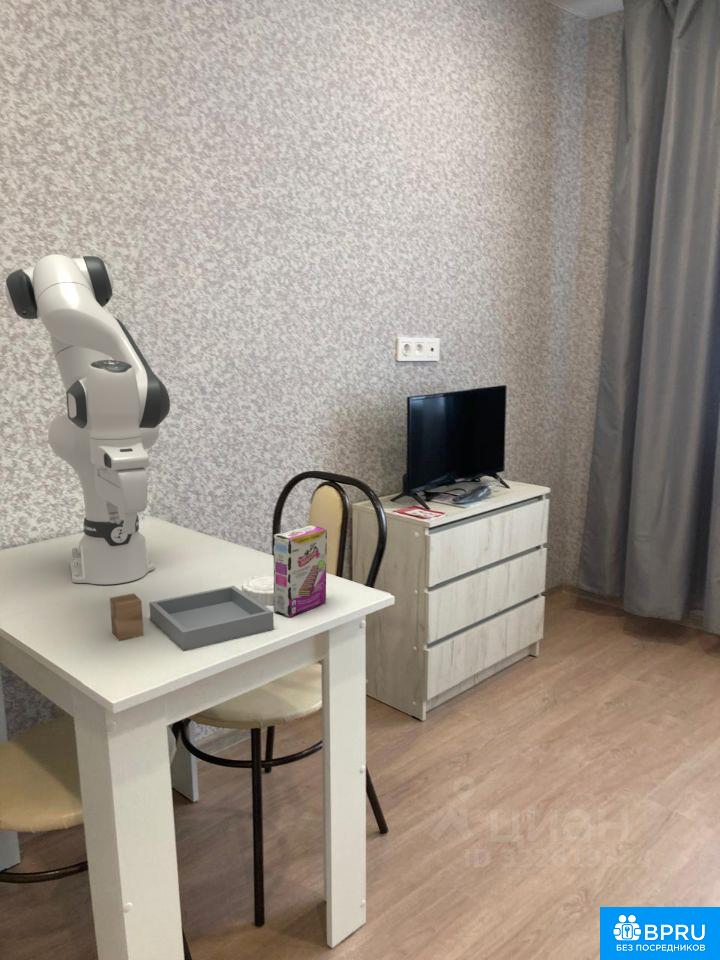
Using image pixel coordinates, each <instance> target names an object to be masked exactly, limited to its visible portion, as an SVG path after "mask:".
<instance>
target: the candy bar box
mask: <svg viewBox="0 0 720 960" xmlns="http://www.w3.org/2000/svg"><path fill="white" fill-rule="evenodd" d="M327 530H328V529H327V528H325V527H320V526H315V525H306V526H303V527H300V528H295V529H292V530H288V531H284V532H281V533H276V534H273V574H274V605H273V613H276V614H279V615H281V616H285V617H288V618H291V617H293V616H296V615H299V614H302V613H304V612H306V611H309V610H311V609H314V608H316V607H319V606H321V605H324V604H326V602H327V601H326V600H327V597H326V596H327V555H328V554H327V545H328V543H327V542H328V540H327V539H328V538H327V537H328V532H327Z"/></svg>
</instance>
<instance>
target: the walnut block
mask: <svg viewBox="0 0 720 960" xmlns="http://www.w3.org/2000/svg"><path fill="white" fill-rule="evenodd" d="M109 606H110V608H109V609H110V619H111V620H110V621H111V633H112V634H113V636H114V637H115V638H116V639H117V640H118V642H121V641H126V640H131V639H135V638H140V637H143V636H144V627H143V625H144V624H143V623H144V622H143V621H144V620H143V605H142V599H141V598H140V597H139V596H138V595H136V594H135V593H129V594H123V595H118V596H112V597H109Z"/></svg>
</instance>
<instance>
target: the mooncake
mask: <svg viewBox="0 0 720 960" xmlns="http://www.w3.org/2000/svg"><path fill="white" fill-rule="evenodd" d="M241 591H242V592H244V593H245V594H247V595H248V596H250V597H251V598H253V599H254V600H256V601H257V602H259V603H261V604H262V605H264V606H265V607H267V606H269V607H270V606H271V607H272V606H273V607H274V573H272V574H258V575H256V576H252V577H250V578H247V579H246V580H244V581H243V582H242V584H241Z"/></svg>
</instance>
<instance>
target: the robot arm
mask: <svg viewBox="0 0 720 960" xmlns="http://www.w3.org/2000/svg"><path fill="white" fill-rule="evenodd" d="M4 290H5V291H4V293H5V297H6V300H7V302H8V305H9V306H10V309H12V310H13V311H14V312H15V314H16V315H17V316H18V317H20V318H22V319H24V320H38V319H39V318H40V319H41V322H42V323H43V326H44V328H45V329H46V331H47V332H48V333H49V334H50V335H49V336H50V342H51V347H52V350H53V355H54V357H55V361H56V364H57V365H56V366H57V367H58V370H59V374H60V377H61V380H62V383H63V386H64V388H65V390H66V393H65V394H66V409H67V413H64V414H61V415H59V416H56V417H55V418H54V419H53V420H52V421H51V423H50V426H49V429H48V432H47V433H48V434H47V436H48V443H49V446H50V449H52V451H53V453H54V454H55V455H56V456H57V457H58V458H59V459H61V460H62V461H64V462H66V463H67V464H68V465H69V466H70V467H71V468H72V469H73V471H74V472H75V473H76V475H77V478H78V480H79V481H80V484H81V487H82V488H81V489H82V492H83V493H82V495H83V500H84V501H83V503H84V511H85V516H84V518H83V524H82V525H83V526H82V527H83V536H82V538H81V539H80V541H79V542H78V547H73V548H72V549H71V551H72V558H73V560H71V561H70V565H69V566H70V567H69V568H70V574H71V582H72V583H75V584H76V583H77V584H91V585H92V584H93V585H117V584H124V583H129V582H133V581H136V580H138V579H141V578H143V577H145V576H146V575H147V574H148V573H149V572H151V571H154V570H155V563H152V562H150V561H149V556H148V548H147V540H146V537H145V535H143V534H142V533H140V531H139V529H140V526H139V525H140V519H139V515H138V513H141V512H145V511H146V508H147V506H148V496H149V495H148V492H149V491H148V490H149V489H148V487H149V486H148V484H149V482H148V472H147V470H146V468H149V467H150V457H149V455H148V453H147V452H146V450H148V449H149V448H152V447H153V446H154V445H155V444H156V442H157V440H158V438H159V434H160V426H159V425H160V424H162V422H164V420H165V419H166V418H167V416H168V415H169V412H170V408H171V402H170V396H169V392H168V389H167V388H166V386H165V384H164V383H163V381H162V380H161V379H160V378H159V377H158V376H157V375H156V374H155V372H154V371H153V370H152V368H151V367H150V365H149V363H148V361H147V360H146V358H145V356H144V355H143V353H142V351H141V350H140V349H139V346H138V345H137V343H136V342H135V340H134V338H133V336H132V335H131V334H130V332H129V331H128V329H127V328H126V326H125V325H124V323H123V322H122V320H120V319H118V318H117V317H115V316H114V315H111V313H109V312H108V311H107V310H106V309H105V308H104V307H105V306H107V304H108V303H109V302H110V300H111V298H112V296H113V290H114V279H113V275H112V273H111V271H110V269H109V267H108V266H107V265H106V264H105V262H104V260H103V259H102V258H100V256H99V257H98V256H94V255H88V256H87V255H83V256H82V257H74V258H71V257H69V256H67V255H64V254H59V253H56V254H55V253H52V254H48V255H45V256H44V257H41V258H40V259H39V260H38V261H37V262H36V263H35V265H34V266H31V267H28V268H25V269H22V268H20V269H18V270H15V271H12V272H10V273H9V274H8V275H7V277H6V279H5V289H4ZM109 357H110V358H112V359H110V358H109Z"/></svg>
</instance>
